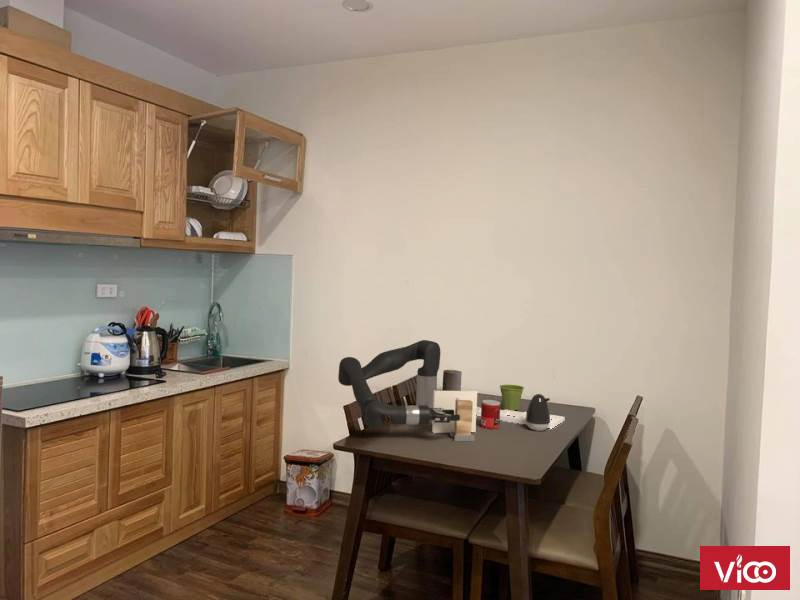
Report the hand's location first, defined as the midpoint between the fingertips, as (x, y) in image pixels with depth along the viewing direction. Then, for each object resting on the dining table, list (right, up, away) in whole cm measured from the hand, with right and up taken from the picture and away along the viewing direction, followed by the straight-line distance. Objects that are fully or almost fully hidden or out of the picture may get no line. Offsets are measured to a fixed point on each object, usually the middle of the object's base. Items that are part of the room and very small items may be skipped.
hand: (456, 415), depth 243 cm
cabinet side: (+1, -9, +4) cm, 10 cm away
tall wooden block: (+2, -10, +1) cm, 10 cm away
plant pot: (+31, -8, +56) cm, 64 cm away
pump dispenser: (+36, -10, +20) cm, 43 cm away
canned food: (+16, -9, +21) cm, 28 cm away
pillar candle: (+5, -6, +80) cm, 81 cm away
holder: (+28, -9, +40) cm, 50 cm away
